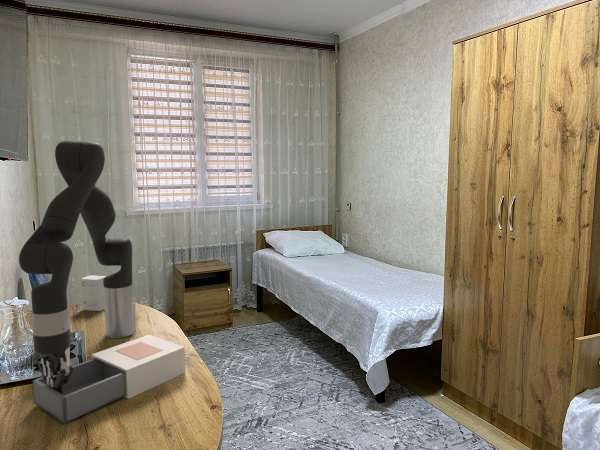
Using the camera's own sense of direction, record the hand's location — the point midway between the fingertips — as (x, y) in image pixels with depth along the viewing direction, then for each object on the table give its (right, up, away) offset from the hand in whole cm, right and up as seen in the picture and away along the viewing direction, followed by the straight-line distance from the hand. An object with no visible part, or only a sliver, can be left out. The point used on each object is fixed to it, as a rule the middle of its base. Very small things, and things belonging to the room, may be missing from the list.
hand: (56, 400), depth 106 cm
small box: (-26, +7, +78) cm, 83 cm away
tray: (+4, -2, +6) cm, 7 cm away
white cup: (-12, 0, +24) cm, 26 cm away
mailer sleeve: (+13, -1, +19) cm, 23 cm away
